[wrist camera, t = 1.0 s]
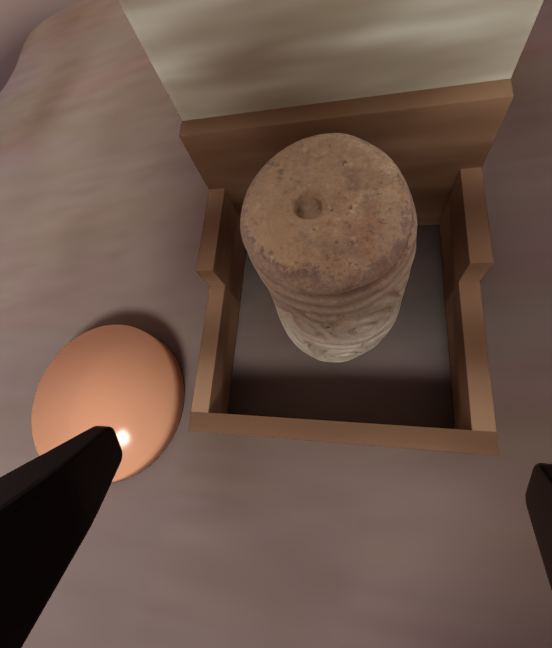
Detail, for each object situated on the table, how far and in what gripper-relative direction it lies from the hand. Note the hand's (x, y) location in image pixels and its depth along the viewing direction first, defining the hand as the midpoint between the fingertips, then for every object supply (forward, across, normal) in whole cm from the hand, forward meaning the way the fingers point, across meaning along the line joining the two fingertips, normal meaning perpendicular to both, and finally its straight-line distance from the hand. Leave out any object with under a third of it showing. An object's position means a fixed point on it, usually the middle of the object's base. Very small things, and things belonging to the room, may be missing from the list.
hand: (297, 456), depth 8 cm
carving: (+15, 0, +4) cm, 16 cm away
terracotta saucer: (+11, +15, +8) cm, 20 cm away
